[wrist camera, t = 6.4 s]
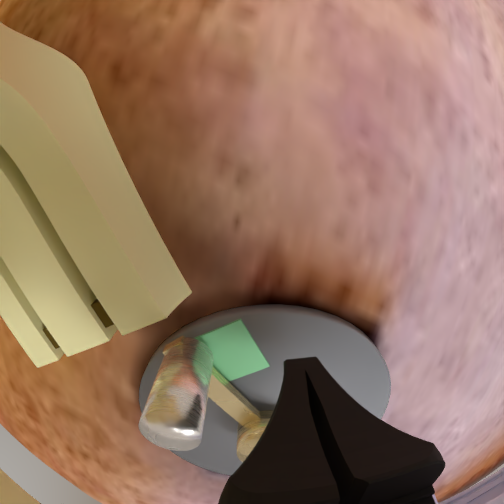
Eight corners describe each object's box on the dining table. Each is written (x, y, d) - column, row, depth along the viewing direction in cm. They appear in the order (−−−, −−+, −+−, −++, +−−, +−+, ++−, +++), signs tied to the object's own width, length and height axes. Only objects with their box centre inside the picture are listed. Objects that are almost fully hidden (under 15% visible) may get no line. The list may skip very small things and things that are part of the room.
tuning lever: (306, 430, 16) (319, 495, 11) (259, 449, 16) (261, 511, 12) (202, 323, 13) (181, 401, 8) (149, 354, 14) (117, 426, 9)
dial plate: (427, 337, 16) (436, 347, 14) (319, 474, 20) (321, 484, 19) (165, 264, 14) (158, 272, 13) (136, 441, 18) (132, 452, 17)
